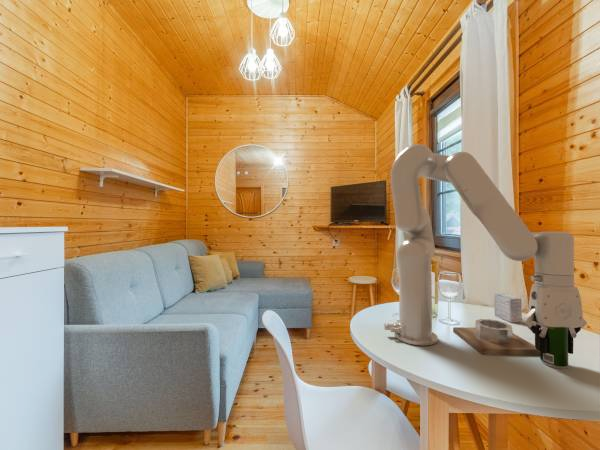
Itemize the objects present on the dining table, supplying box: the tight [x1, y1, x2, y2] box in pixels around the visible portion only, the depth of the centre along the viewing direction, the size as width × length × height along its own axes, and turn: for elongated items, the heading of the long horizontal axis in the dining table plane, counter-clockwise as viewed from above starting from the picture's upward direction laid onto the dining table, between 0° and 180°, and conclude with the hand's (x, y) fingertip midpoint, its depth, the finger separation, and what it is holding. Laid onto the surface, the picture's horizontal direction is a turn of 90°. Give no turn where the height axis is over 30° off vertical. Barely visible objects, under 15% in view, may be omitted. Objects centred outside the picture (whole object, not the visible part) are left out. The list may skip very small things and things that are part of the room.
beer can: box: [539, 326, 569, 370], centre depth 72 cm, size 5×5×12 cm
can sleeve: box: [475, 318, 513, 344], centre depth 86 cm, size 9×9×4 cm
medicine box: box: [494, 293, 523, 324], centre depth 106 cm, size 8×4×9 cm, turn 3°
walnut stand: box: [452, 326, 540, 356], centre depth 86 cm, size 16×16×2 cm
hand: (553, 350), depth 73 cm, fingers closed on beer can, 5 cm apart
